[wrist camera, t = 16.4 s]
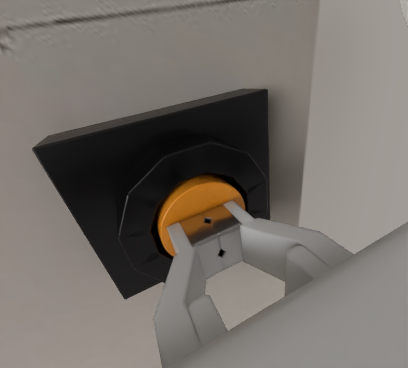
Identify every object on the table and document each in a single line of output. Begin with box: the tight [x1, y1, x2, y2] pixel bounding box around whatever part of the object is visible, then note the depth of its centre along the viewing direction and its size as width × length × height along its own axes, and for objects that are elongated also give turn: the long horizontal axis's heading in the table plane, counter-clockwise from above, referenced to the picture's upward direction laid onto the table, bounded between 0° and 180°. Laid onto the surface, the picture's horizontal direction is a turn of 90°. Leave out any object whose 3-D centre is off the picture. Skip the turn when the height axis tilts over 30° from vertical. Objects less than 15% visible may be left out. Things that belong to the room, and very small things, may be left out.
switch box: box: [32, 89, 270, 299], centre depth 11 cm, size 10×9×4 cm
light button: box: [154, 172, 245, 257], centre depth 10 cm, size 4×4×2 cm
